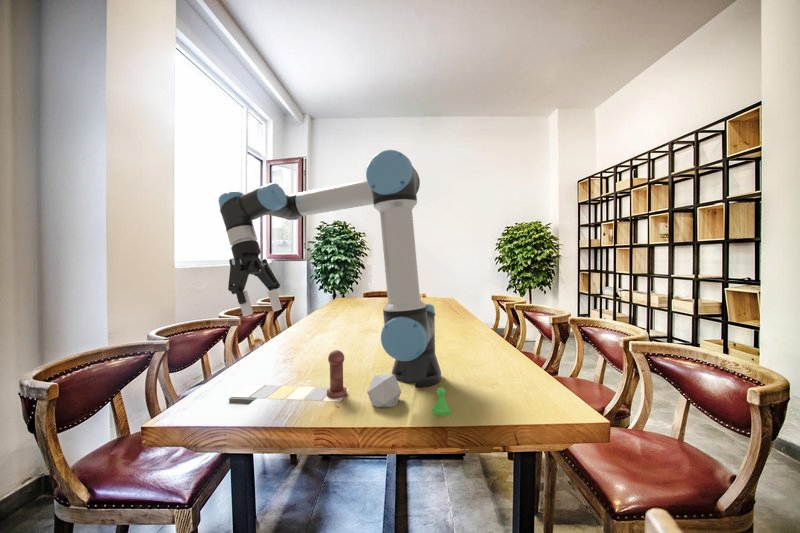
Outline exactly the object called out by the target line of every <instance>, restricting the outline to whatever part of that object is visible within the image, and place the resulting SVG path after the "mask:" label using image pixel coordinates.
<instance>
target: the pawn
mask: <svg viewBox="0 0 800 533" xmlns="http://www.w3.org/2000/svg"><path fill="white" fill-rule="evenodd" d="M327 357H328V358H327V359H328V360H327V362H328V363H329V387H328V388H329V389H327V395H326V396H327V397H329V398H342V397H343V398H344V397H346V396H347V395H348V392H347V389H348V388H347V387H345V386H344V361H345V354H344V353H343V352H342V351H341V350H339V349H336V350H335V349H334V350H332V351H331V352H330V353H329V354H328V356H327Z"/></svg>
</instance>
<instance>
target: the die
mask: <svg viewBox="0 0 800 533" xmlns="http://www.w3.org/2000/svg"><path fill="white" fill-rule="evenodd" d="M398 382H399V381H397V379H396V377H395V374H394V375H392V374H374V375H373V378H372V380H371V383H370V385H369V387H368V390H367V395H368V398H369V400H370V402H371V405H372V406H373V407H376V408H392V407H394V406H397V405H398V403H399V399H400V396H401V394H402V390H401V387H400V385H399V383H398Z"/></svg>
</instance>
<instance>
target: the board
mask: <svg viewBox="0 0 800 533" xmlns="http://www.w3.org/2000/svg"><path fill="white" fill-rule="evenodd" d="M329 388H330V387H321V386H320V387H319V386H317V387H315V386H297V385H296V386H294V385H293V386H291V385H290V386H289V385H272V384H252V383H251V384H249V385H247V386H246V387H244V388H242V389H241V390H239V391H238V392H236V393H235V394H233V395H231V397H229V398H228V403H237V404H239V403H240V404H251V403H253V402H254V401H255V400H257V399H269V400H270V399H271V400H292V401H314V402H315V401H317V402H319V401H320V402H321V401H322V402H335V403H338V402H342V400H343V399H344V397H342V398H329V397H327V389H329ZM349 391H350V388H347V393H348V392H349Z"/></svg>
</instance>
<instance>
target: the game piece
mask: <svg viewBox="0 0 800 533" xmlns="http://www.w3.org/2000/svg"><path fill="white" fill-rule="evenodd" d="M446 393H447V392H446V389H445V388H444V387H443V386H440V387H438V388H436V394H437V395H438V397H437V400H436V403H435V405H434V406H433V407H432V408H431V409H432V412H433V415H436V416H448V415H449V414H450V413H451V408H450V407H449V406H448V403H447V401H446V398H445V395H446Z"/></svg>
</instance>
